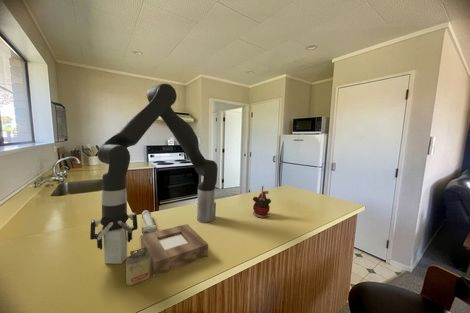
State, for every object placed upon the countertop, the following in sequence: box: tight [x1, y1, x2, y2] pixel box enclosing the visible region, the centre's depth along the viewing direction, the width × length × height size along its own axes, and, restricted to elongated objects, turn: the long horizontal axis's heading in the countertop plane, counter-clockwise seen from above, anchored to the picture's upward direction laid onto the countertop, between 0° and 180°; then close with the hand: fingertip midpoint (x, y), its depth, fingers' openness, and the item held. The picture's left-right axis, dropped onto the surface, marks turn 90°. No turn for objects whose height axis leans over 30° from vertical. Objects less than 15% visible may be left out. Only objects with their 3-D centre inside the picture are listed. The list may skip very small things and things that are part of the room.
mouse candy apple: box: [252, 185, 272, 218], centre depth 117 cm, size 11×9×18 cm
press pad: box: [159, 234, 188, 250], centre depth 77 cm, size 9×9×1 cm
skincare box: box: [103, 227, 128, 265], centre depth 70 cm, size 6×4×12 cm
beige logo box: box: [125, 246, 152, 286], centre depth 62 cm, size 7×4×10 cm, turn 130°
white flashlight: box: [141, 209, 158, 235], centre depth 96 cm, size 5×7×25 cm
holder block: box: [140, 223, 209, 278], centre depth 77 cm, size 20×20×5 cm
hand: (115, 244), depth 70 cm, fingers open, 8 cm apart
